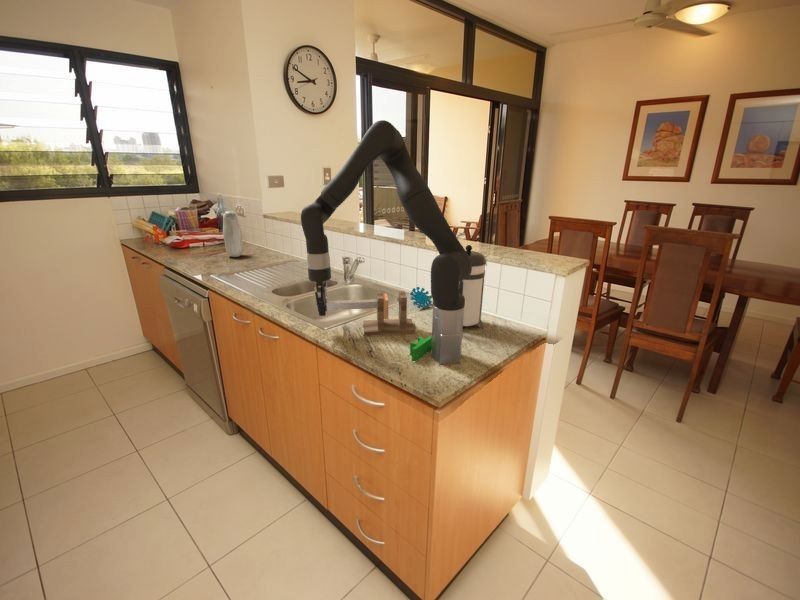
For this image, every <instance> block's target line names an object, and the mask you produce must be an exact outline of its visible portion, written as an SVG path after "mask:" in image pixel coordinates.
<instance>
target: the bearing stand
mask: <svg viewBox="0 0 800 600" xmlns="http://www.w3.org/2000/svg"><path fill="white" fill-rule="evenodd" d="M383 294H384V293H383V291H376V299H377V301H378V308H376V320H375V319H374V320H371V319H370V320H362V321H363V336H364V337H378V336H397V335H398V336H400V335H402V336H403V335H416V328H415V326H414V325H415V324H414V323H413V320H412V319H413V318H408V317H407V316H408V315H407V314H408V313H407V312H408V310H407V309H408V307H407V306H408V299H407V298H408V296H407V295H406V292H405V290H398V318H396V319H384V298H383Z"/></svg>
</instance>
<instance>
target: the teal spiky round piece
mask: <svg viewBox="0 0 800 600" xmlns="http://www.w3.org/2000/svg"><path fill="white" fill-rule="evenodd" d="M424 291H425V288H424V287H421V288H420V287H419V286H417V287H415V288H412V290H411V292H410V293H409V295H410V301H413V302H412V304H413V306H414V305H416V308H418V309H420V308H421V309H423V310H425V309H427V308H430V306H431V303H433V300H431V299H433V298H432V295H431V294H430V295H429V291H428V290H426V291H425V292H424ZM417 304H418V305H417Z"/></svg>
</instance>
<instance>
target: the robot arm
mask: <svg viewBox="0 0 800 600" xmlns="http://www.w3.org/2000/svg"><path fill="white" fill-rule="evenodd" d="M378 158H380V159H381V161H382V162H383V163H384V164H385V166H386V167H387V169H388V171H389V173H390V174H391V176H392V178H393V180H394V183H395V187H396V191H397V196H398V198H399V201H400V203H401V206H402V207H403V210H404V211H405V213H406V215H407V217H408V219H409V220H410V222H411V223H412V224H413V225H414V227H416V228H417V229H418V231H420V232H421V233H423V234H424V235H425V236H426V237H427V238H428V239H429V240H430V241H431V242H432V243H433V244H434V246H435V248H436V250H437V252H438V255H437V256H435V258H434V259H433V260H432V262H431V266H430V296H431V295H432V298H431V299H432V319H431V320H432V322H431V324H432V327H431V336H432V346H431V350H430V356H431V359H433V361H435V362H437V363H438V364H440V365H445V364H446V363H447V364H446V365H448V363H449V364H459V363H460V360H461V359H462V358H461V357H462V343H463V334H464V333H463V332H464V331H463V329H464V326H463V318H464V306H465V298H464V296H463V295H462V294H460V293H459V282H460V281H462V280H464V279H466V278H467V277H469V275H470V274H471V271H472V263H471V260H470V257H469V255H468V254H467V252H466V251H467V250H466V248H464V246H463V245H462V243H461V242H460V240H459V238H458V237H457V236H456V234H455V233H454V231H453V230H452V228H451V227H450V225H449V222H448V220H447V218H446V217H445V215H444V214H443V211H441V209H440V206H439V204H438V202H437V200H436V198H435V196H434V195H433V192H432V191H431V189H430V187H429V186H428V184H427V182H426V180H425V179H424V177H423V176H422V174H421V173H420V172H419V170H418V168H417V167H416V166H415V164H414V162H413V160H412V157H411V154H410V153H409V150H408V148H407V145H406V143H405V140H404V138H403V135H402V134H401V132H400V131H399V130H398V129H397V128H396V127H395V126H394V125H393V124H392V123H391V122H389V121H388V120H382V119H381V120H378V121H375V122H373V124H372V125H370V127H369V128H368V129H367V131H366V132H365V134H364V135H363V137H362V139H360V142H359V143H358V145H357V146H356V148H355V149H354V150H353V152H352V154H351V155H350V156H349V158H348V159H347V161H346V162H345V164H344V165H343V166H342V167H341V169H340V170H339V171H338V172H337V173H336V174H335V175H334V176H333V178H331V180H330V181H328V183H327V184H326V185H325V186H324V187H323V189H322V190H321V191H320V195H319V196H318V197H317V198H316V199H315V200H314V201H313V202H312V203H311V204H308V205H306V206H304V207H303V208H302V210H301V213H300V223H301V228H302V231H303V232H302V233H303V235H304V238H305V245H306V265H307V266H306V267H307V276H308V280H309V281H311V282H315V283H314V286H313V287H314V288H313V289H314V295H315V302H316V306H317V309H318V308H319V312H318V315H319V317H325V316H326V314H327V313H326V312H327V311H326V310H325V305H326V303H325V300H326V299H327V297H328V281H329V280H331V279H332V269H331V266H332V265H331V257H330V252H329V250H330V249H329V240H328V236H327V235H326V234H325V229H324V224H325V223H326V222H327V221H328V220H329V218H331V216H332V215H333V214H334V213H335V211H336V209H337V208H339V207H340V206H341V205H342V204H343V203H344V202H345V201H346V200H347V199H348V198H349V197H350V196H351V194H353V192H354V191H355V189H356V188H357V185H358V184H359V182H360V180H361V177H362V176H363V174H364V173H365V171H366V169H367V168H368V167H369V166H370V165H371V164H372V163H373V162H374V161H375V160H376V159H378ZM319 301H322V302H319Z"/></svg>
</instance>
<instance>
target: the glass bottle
mask: <svg viewBox="0 0 800 600" xmlns="http://www.w3.org/2000/svg"><path fill="white" fill-rule="evenodd" d="M236 214H237V213H235V211H233V210H226V211H224V213H223V216H222V219H223V220H222V221H223V222H222V223H223V225H222V234H223V236H222V237H223V240H224V247H225V250H226V254H227V255H228V256H230V257H231V258H238V257H241V255H242V254H243V252H244V245H243V235H242V229H241V227H240V224H239V221H238V218H237V215H236Z"/></svg>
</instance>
